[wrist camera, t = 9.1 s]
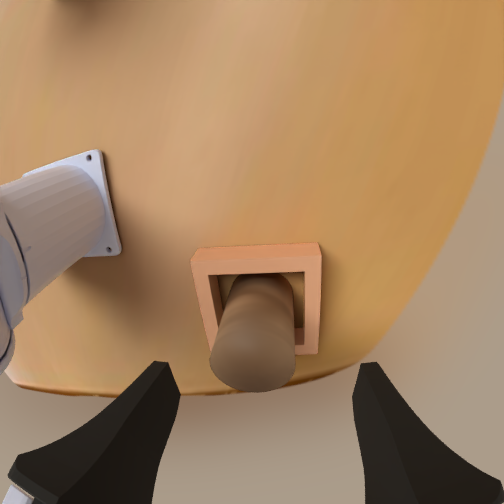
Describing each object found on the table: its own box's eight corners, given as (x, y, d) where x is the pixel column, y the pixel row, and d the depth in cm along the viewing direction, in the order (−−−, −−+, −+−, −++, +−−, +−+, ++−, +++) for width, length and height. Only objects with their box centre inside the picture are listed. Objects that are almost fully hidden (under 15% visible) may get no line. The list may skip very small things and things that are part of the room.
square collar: (216, 338, 23) (211, 354, 21) (198, 248, 19) (189, 261, 18) (315, 336, 22) (317, 353, 20) (317, 242, 18) (321, 255, 17)
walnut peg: (234, 320, 22) (217, 390, 15) (226, 269, 20) (202, 334, 13) (293, 319, 21) (294, 392, 15) (292, 266, 19) (295, 334, 13)
